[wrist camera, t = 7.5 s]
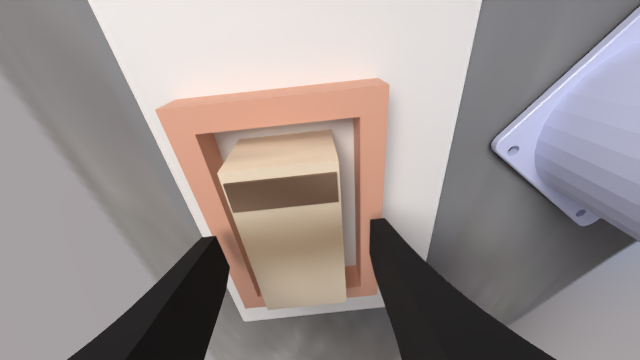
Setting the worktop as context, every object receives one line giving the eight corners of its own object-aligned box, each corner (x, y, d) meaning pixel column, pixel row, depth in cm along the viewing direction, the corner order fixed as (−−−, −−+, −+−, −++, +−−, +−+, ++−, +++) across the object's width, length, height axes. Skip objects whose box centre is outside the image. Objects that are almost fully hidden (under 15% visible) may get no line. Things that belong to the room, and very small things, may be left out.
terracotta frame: (175, 99, 9) (154, 109, 8) (377, 77, 9) (389, 84, 8) (250, 286, 16) (245, 308, 14) (371, 273, 16) (377, 294, 14)
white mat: (580, -517, 4) (602, -563, 4) (414, 298, 18) (417, 303, 18) (-110, -438, 4) (-145, -478, 4) (245, 316, 18) (244, 321, 18)
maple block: (339, 255, 14) (347, 303, 12) (274, 261, 15) (267, 312, 12) (330, 129, 10) (338, 162, 8) (238, 138, 10) (216, 175, 8)
